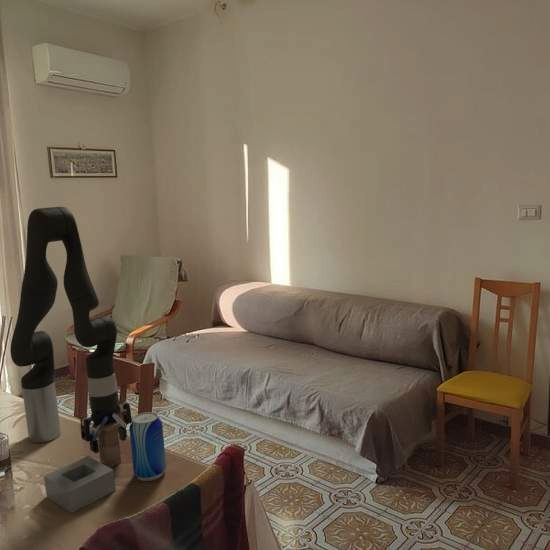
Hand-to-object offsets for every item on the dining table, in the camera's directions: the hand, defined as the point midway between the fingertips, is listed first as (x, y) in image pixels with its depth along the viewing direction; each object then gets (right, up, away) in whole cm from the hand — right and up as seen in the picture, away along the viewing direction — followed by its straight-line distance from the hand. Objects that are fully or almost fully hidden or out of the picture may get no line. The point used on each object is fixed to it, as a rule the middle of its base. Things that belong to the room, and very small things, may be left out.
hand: (109, 446), depth 147 cm
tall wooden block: (0, -5, +1) cm, 5 cm away
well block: (-3, -8, -13) cm, 16 cm away
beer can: (+13, -6, -6) cm, 15 cm away
